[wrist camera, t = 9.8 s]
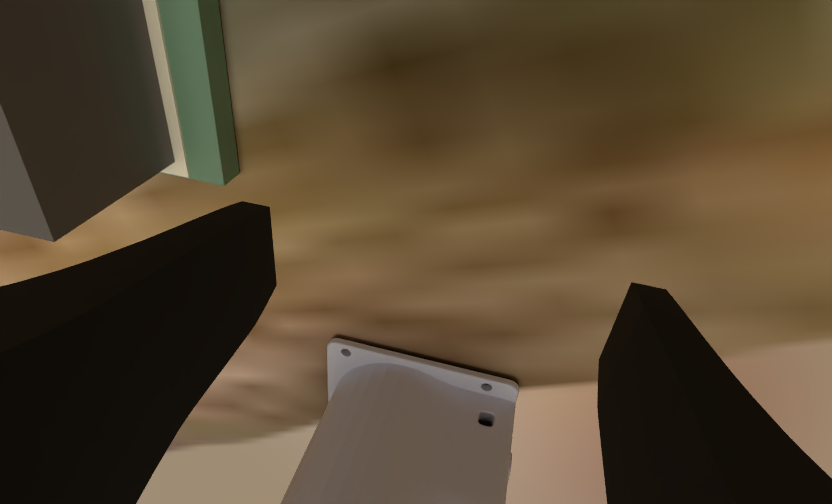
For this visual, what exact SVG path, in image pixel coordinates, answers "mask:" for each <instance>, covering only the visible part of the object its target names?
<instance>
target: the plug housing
mask: <svg viewBox="0 0 832 504" xmlns="http://www.w3.org/2000/svg"><path fill="white" fill-rule="evenodd" d="M174 162H175V159H174V154H173V149H172V144H171V139H170V135H169V130H168V125H167V120H166V115H165V110H164V105H163V100H162V95H161V90H160V86H159V81H158V76H157V71H156V66H155V61H154V56H153V51H152V46H151V41H150V36H149V32H148V27H147V22H146V17H145V12H144V7H143V2H142V0H0V230H4V231H9V232H13V233H17V234H22V235H26V236H30V237H35V238H39V239H43V240H48V241H52V242H55V241H57V240H58V239H60V238H61V237H63V236H64V235H66V234H67V233H69V232H70V231H72V230H73V229H75V228H76V227H78V226H79V225H81V224H82V223H84V222H85V221H87V220H88V219H90V218H91V217H93V216H94V215H96V214H97V213H99V212H100V211H102V210H103V209H105V208H106V207H108V206H109V205H111V204H112V203H114V202H115V201H117V200H118V199H120V198H121V197H123V196H124V195H126V194H127V193H129V192H130V191H132V190H133V189H135V188H136V187H138V186H140V185H141V184H143V183H144V182H146V181H147V180H149V179H150V178H152V177H153V176H155V175H156V174H158V173H159V172H161V171H162V170H164V169H165V168H167V167H168V166H170V165H171V164H173V163H174Z"/></svg>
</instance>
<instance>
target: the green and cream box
mask: <svg viewBox="0 0 832 504" xmlns="http://www.w3.org/2000/svg"><path fill="white" fill-rule="evenodd" d="M142 2H143V7H144V12H145V17H146V22H147V27H148V32H149V36H150V41H151V46H152V51H153V56H154V61H155V66H156V71H157V76H158V81H159V86H160V90H161V95H162V100H163V105H164V110H165V115H166V120H167V125H168V130H169V135H170V139H171V144H172V149H173V154H174V159H175V162H174V163H173V164H171V165H170V166H168V167H167V168H165V169H164V170H162V171H161V172H159V173H164V174H169V175H174V176H179V177H183V178H188V179H193V180H198V181H203V182H208V183H213V184H218V185H222V186H225V185H226V184H227V183H228V182H229V181H231V180H232V179H233V178H234V177H236V176H237V175H238V174H239V165H238V157H237V149H236V141H235V132H234V124H233V116H232V108H231V100H230V92H229V84H228V76H227V67H226V59H225V51H224V43H223V35H222V27H221V19H220V10H219V2H218V0H142Z"/></svg>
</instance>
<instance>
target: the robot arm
mask: <svg viewBox="0 0 832 504" xmlns="http://www.w3.org/2000/svg"><path fill="white" fill-rule="evenodd" d="M276 285H277V284H276V272H275V261H274V250H273V239H272V228H271V216H270V207H267V206H262V205H258V204H253V203H248V202H243V201H242V202H239V203H236V204H232V205H229V206H227V207H224V208H221V209H219V210H216V211H214V212H211V213H209V214H206V215H204V216H201V217H199V218H196V219H194V220H192V221H189V222H187V223H184V224H182V225H180V226H177V227H175V228H172V229H170V230H167V231H165V232H162V233H160V234H158V235H155V236H153V237H150V238H148V239H145V240H143V241H140V242H137V243H135V244H132V245H129V246H127V247H124V248H121V249H119V250H116V251H113V252H111V253H108V254H105V255H102V256H100V257H97V258H94V259H92V260H89V261H86V262H83V263H80V264H77V265H74V266H71V267H68V268H65V269H62V270H58V271H55V272H52V273H48V274H45V275H41V276H38V277H34V278H31V279H28V280H24V281H21V282H17V283H13V284H9V285H5V286H1V287H0V504H136V503H137V501H138V499H139V497H140V496H141V494H142V492H143V490H144V489H145V487H146V485H147V483H148V481H149V479H150V478H151V476H152V474H153V472H154V471H155V469H156V467H157V466H158V464H159V462H160V461H161V459H162V457H163V456H164V454H165V452H166V451H167V449H168V447H169V446H170V444H171V442H172V440H173V439H174V437H175V435H176V434H177V432H178V430H179V429H180V427H181V426H182V424H183V423H184V421H185V420H186V418H187V417H188V415H189V414H190V413H191V411H192V410H193V408H194V407H195V405H196V404H197V403H198V401H199V400H200V399H201V397H202V396H203V395H204V393H205V392H206V391H207V389H208V388H209V387H210V385H211V384H212V383H213V381H214V380H215V379H216V377H217V376H218V375H219V373H220V372H221V371H222V369H223V368H224V367H225V365H226V364H227V363H228V361H229V360H230V359H231V357H232V356H233V354H234V353H235V352H236V350H237V349H238V348H239V346H240V345H241V344H242V342H243V341H244V339H245V338H246V337H247V335H248V334H249V333H250V331H251V330H252V328H253V327H254V326H255V324H256V322H257V321H258V319H259V317H260V315H261V314H262V312H263V310H264V308H265V306H266V305H267V303H268V301H269V299H270V297H271V295H272V293H273V291H274V289H275V287H276ZM346 349H347V350H346ZM348 350H349V351H348ZM327 372H328V405H327V407H326V409H325V411H324V414H323V416H322V418H321V420H320V422H319V424H318V426H317V428H316V430H315V433H314V435H313V437H312V439H311V441H310V443H309V445H308V447H307V449H306V451H305V454H304V456H303V458H302V460H301V462H300V464H299V466H298V468H297V470H296V472H295V474H294V477H293V479H292V481H291V483H290V485H289V487H288V489H287V491H286V493H285V495H284V498H283V500H282V502H281V504H505V500H506V491H507V484H508V480H509V474H510V469H511V461H512V454H511V442H512V432H513V422H514V413H515V403H516V400H517V397H518V392H519V386H518V384H517V383H516V382H514V381H512V380H509V379H505V378H501V377H497V376H492V375H488V374H484V373H480V372H476V371H472V370H468V369H464V368H459V367H455V366H451V365H447V364H443V363H439V362H435V361H431V360H426V359H422V358H418V357H414V356H410V355H406V354H402V353H398V352H393V351H389V350H385V349H381V348H377V347H373V346H369V345H365V344H361V343H356V342H352V341H348V340H344V339H340V338H333V339H331V340H330V341H329V343H328V346H327ZM484 383H486V384H489V385H486V384H484ZM598 418H599V429H600V439H601V448H602V458H603V467H604V477H605V486H606V495H607V504H832V478H830V477H829V476H828V475H827V474H826V473H825V472H824V471H823V470H822V469H821V468H820V467H819V466H818V465H817V464H816V463H815V462H814V461H813V460H812V459H811V458H810V457H809V456H808V455H807V454H806V453H804V451H803V450H802V449H801V448H800V447H799V446H798V445H797V444H796V443H795V442H794V441H793V440H792V439H791V438H790V437H789V436H788V435H787V434H786V433H785V432H784V431H783V430H782V429H781V427H780V426H779V425H778V424H777V423H776V422H775V421H774V420H773V419H772V418H771V417H770V415H769V414H768V413H767V412H766V411H765V410H764V409H763V408H762V407H761V405H760V404H759V403H758V402H757V401H756V400H755V399H754V398H753V397H752V395H751V394H750V393H749V392H748V391H747V390H746V388H745V387H744V386H743V385H742V384H741V383H740V381H739V380H738V379H737V378H736V377H735V376H734V374H733V373H732V372H731V371H730V369H728V367H727V366H726V365H725V363H724V362H723V361H722V360H721V358H720V357H719V356H718V355H717V353H716V352H715V351H714V350H713V348H712V347H711V346H710V345H709V343H708V342H707V341H706V340H705V338H704V337H703V336H702V334H701V333H700V332H699V331H698V329H697V328H696V327H695V325H694V324H693V323H692V322H691V320H690V319H689V318H688V316H687V315H686V314H685V312H684V311H683V310H682V309H681V307H680V306H679V305H678V304H677V302H676V301H675V300H674V299H673V297H672V296H671V295H670V294H669V293H668V291H667V290H666V289H661V288H656V287H651V286H647V285H642V284H637V283H632V282H631V285H630V287H629V290H628V292H627V294H626V297H625V299H624V301H623V304H622V306H621V309H620V311H619V313H618V316H617V318H616V320H615V323H614V325H613V328H612V330H611V332H610V335H609V337H608V339H607V342H606V344H605V347H604V349H603V351H602V354H601V356H600V358H599V372H598Z"/></svg>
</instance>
